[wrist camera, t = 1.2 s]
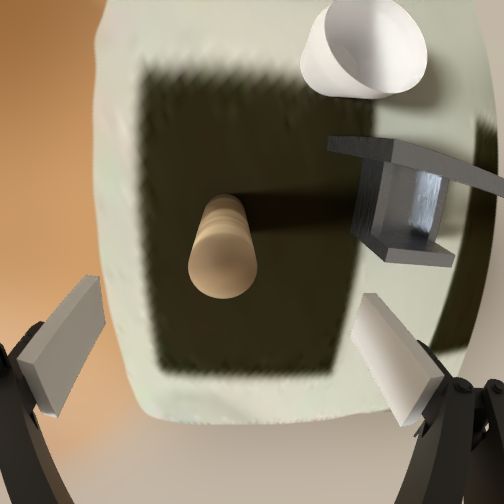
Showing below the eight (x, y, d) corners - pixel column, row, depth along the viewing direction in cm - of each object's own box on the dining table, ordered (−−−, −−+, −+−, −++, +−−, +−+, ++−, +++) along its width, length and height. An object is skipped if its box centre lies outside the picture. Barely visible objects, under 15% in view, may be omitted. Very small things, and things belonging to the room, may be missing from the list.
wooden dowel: (205, 192, 31) (189, 232, 18) (247, 196, 32) (261, 238, 19) (202, 232, 33) (187, 295, 20) (242, 235, 33) (253, 300, 20)
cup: (381, 83, 28) (446, 68, 17) (322, 122, 29) (372, 117, 18) (334, 20, 25) (381, -23, 14) (271, 56, 26) (295, 14, 15)
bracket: (328, 135, 30) (394, 138, 17) (451, 168, 32) (530, 191, 19) (313, 228, 34) (364, 285, 21) (434, 242, 36) (503, 288, 23)
